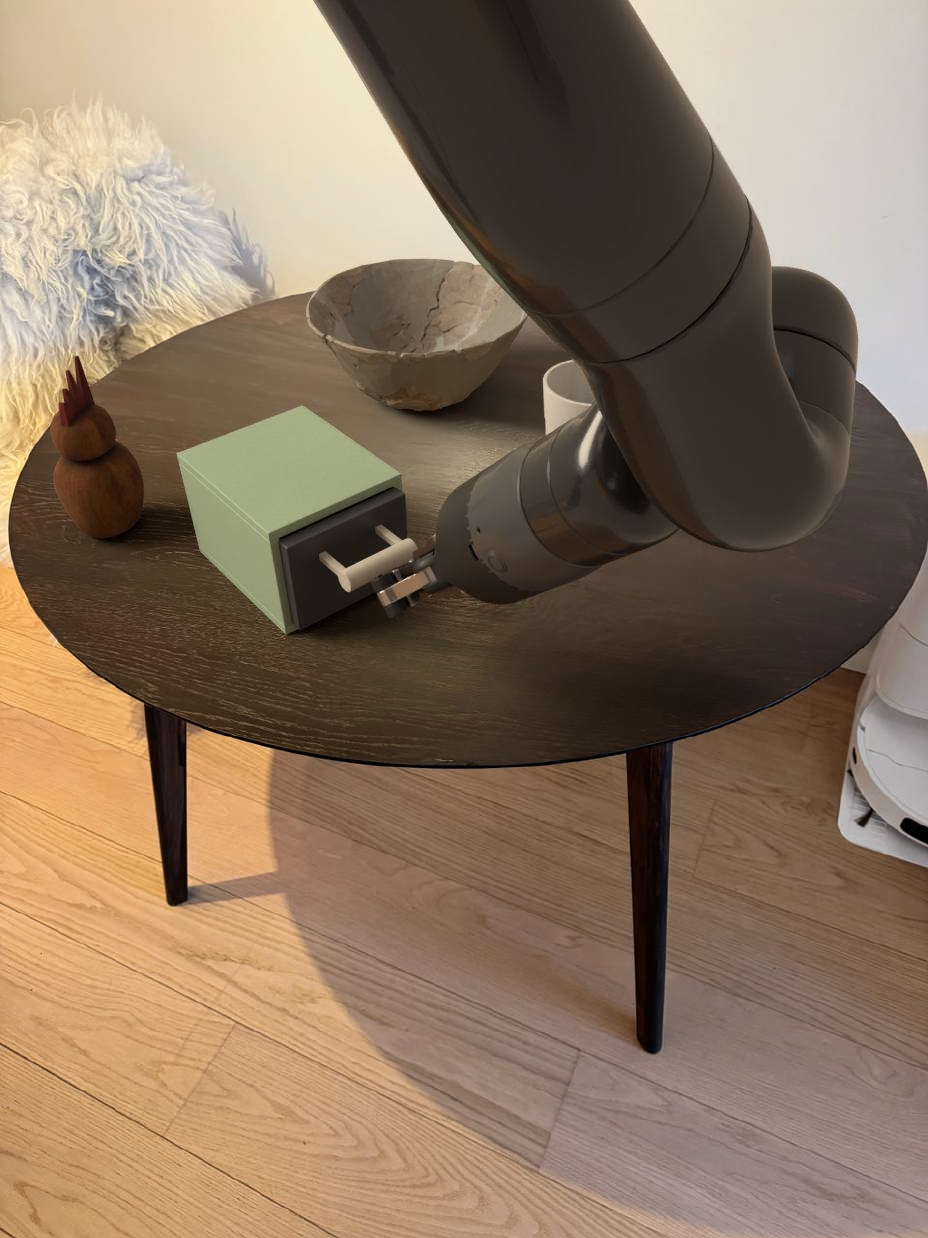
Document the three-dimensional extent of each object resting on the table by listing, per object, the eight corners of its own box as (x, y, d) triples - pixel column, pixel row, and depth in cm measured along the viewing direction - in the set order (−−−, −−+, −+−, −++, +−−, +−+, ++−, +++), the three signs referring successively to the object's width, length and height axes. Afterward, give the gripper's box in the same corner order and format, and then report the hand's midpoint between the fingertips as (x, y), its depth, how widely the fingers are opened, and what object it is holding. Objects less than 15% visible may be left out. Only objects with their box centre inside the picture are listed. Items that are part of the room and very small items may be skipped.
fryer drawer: (443, 601, 73) (442, 519, 68) (332, 662, 68) (321, 578, 63) (323, 505, 82) (313, 427, 77) (217, 552, 77) (199, 472, 72)
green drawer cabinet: (407, 572, 77) (401, 473, 70) (286, 635, 71) (268, 533, 65) (315, 500, 84) (302, 404, 78) (199, 551, 79) (175, 452, 73)
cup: (523, 517, 82) (529, 394, 74) (551, 471, 88) (560, 351, 80) (611, 538, 80) (627, 413, 72) (635, 489, 86) (652, 368, 78)
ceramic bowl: (518, 340, 108) (522, 253, 102) (536, 446, 91) (541, 350, 84) (326, 343, 108) (316, 256, 101) (307, 451, 91) (294, 354, 84)
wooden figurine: (122, 496, 85) (76, 340, 75) (165, 518, 82) (123, 360, 72) (59, 533, 81) (1, 373, 71) (101, 557, 78) (48, 395, 68)
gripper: (587, 417, 53) (452, 502, 68) (402, 505, 47) (298, 577, 62) (646, 535, 54) (499, 593, 69) (471, 638, 47) (352, 677, 63)
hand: (404, 586), depth 65 cm, fingers closed
